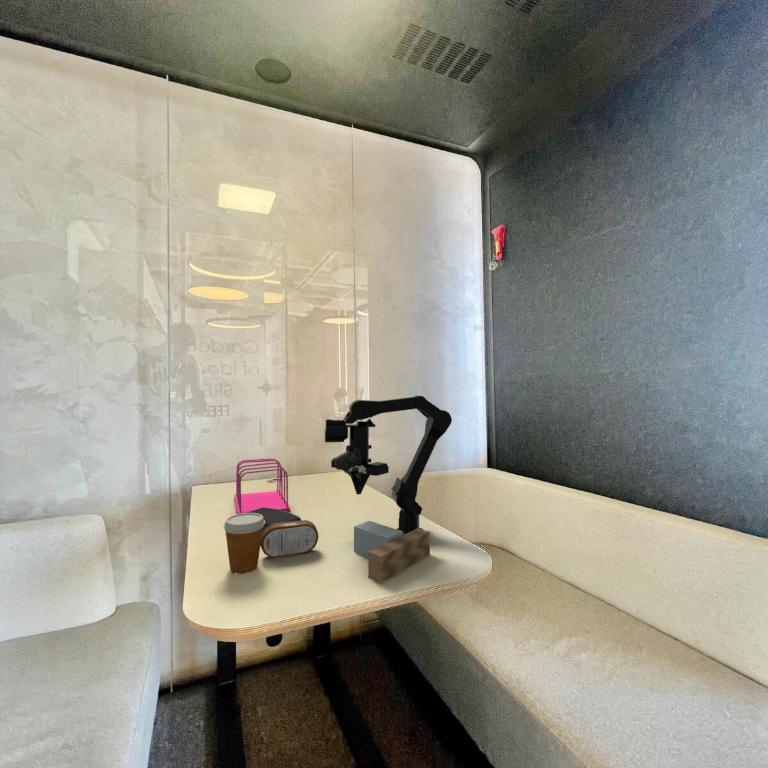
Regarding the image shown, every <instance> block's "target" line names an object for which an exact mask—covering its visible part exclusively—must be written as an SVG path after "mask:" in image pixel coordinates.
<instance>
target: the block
mask: <svg viewBox="0 0 768 768" xmlns="http://www.w3.org/2000/svg"><path fill="white" fill-rule="evenodd" d="M402 535H404V534H403V531H400V530H397V528H393V527H390V526H387V525H384V524H380V523H378V522H374V521H372V520H368V521H365V522H362V523H359V524H356V525H354V526H353V553H355V554H357V555H360V556H363V557H365V558H367V559H368V552H369V551H371V550H373V549H375V548H377V547H379V546H381V545H383V544H385V543H388V542H390V541H392V540H394V539H396V538H398V537H400V536H402Z"/></svg>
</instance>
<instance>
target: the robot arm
mask: <svg viewBox="0 0 768 768" xmlns="http://www.w3.org/2000/svg"><path fill="white" fill-rule="evenodd" d="M348 407H349V408H348V410H349V411H348V412H347V414H346V415H344V418H343V419H330V418H329V419H325V427H324V443H328V444H329V443H344V442H345V441H346V440H348V438H349V444H348V445H346V448H345V452H342V453H340V454H339V455H337V456H336V457H333V458H332V459H331V460H330V464H331V465H330V466H331V468H333V469H336V470H338V471H343V472H344V473H346V475H348V476H349V477H350V478H351V481H352V484H353V488H354V490H355V493H356V495H358V496H359V495H361V494H362V492H363V491H364V488H365V486H366V484H367V482H368V479H370V476H373V477H374V476H375V477H378V476H381V475H385V474H389V469H390V468H389V465H388V463H387V462H380V461H376V462H372V458H370V457H369V453H370V451H369V450H370V449H372V444H370V441H369V440H370V439H369V438H370V434H369V433H370V428H376V424H375V423H374V422H373V421H372V419H371V418H373V417H375V416H378V415H381V414H385V413H386V414H388V413H394V412H401V411H408V410H418V412H419V413H420V414H422V415H423V417H425V418H426V421H425V427H424V434H423V437H422V438H421V440H420V443H419V444H418V448H417V449H416V451H415V454H414V456H413V458H412V460H411V463H410V465H409V466H408V469H407V471H406V473H405V475H404V476H403V477H401V479H400V478H399V477H396V479H395V482H394V484H393V486H392V487H391V490H392V492H391V498H392V499H393V501H394V503H395V504H396V505H397V507H398V508H399V509H400V510H399V512H398V527H397V528H396V529H397V530H400V531H403V535H404V534H406V533H409V532H411V531H413V530H415V529H417V528H419V529H422V530H424V528H422V527H420V516H421V513H422V511H423V507H422V506H421V505H420V504H419V503H418V502H417V501H416V499H417V496H418V489H419V482H420V479H421V478H422V475H423V473H424V470H425V469H426V467H427V464H428V463H429V460H430V458H431V456H432V453H433V451H434V449H435V447H436V444H437V443H438V441H439V440H440V438H441V437H443V435H444V434H445V433H446V432H447V430H448V429H449V427H450V426H451V424H452V421H453V419H452V416H451V414H450V413H449V412H448V410H444V409H440V408H439V407H437V405H435V404H433V403H432V402H431V401H429V400H428V399H426V398H425V396H423V395H414V396H409V397H400V398H393V399H385V400H371V399H370V400H366V399H363V400H362V399H356V400H353V401H352V402H351V403H350V404H349V406H348ZM364 420H365V421H364ZM355 422H356V424H354V423H355Z"/></svg>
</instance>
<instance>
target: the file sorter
mask: <svg viewBox="0 0 768 768" xmlns="http://www.w3.org/2000/svg"><path fill="white" fill-rule="evenodd" d="M248 463H251V464H248ZM243 464H245V465H243ZM267 465H268V466H267ZM269 465H270V466H269ZM254 466H255V467H254ZM256 466H259V467H256ZM241 469H242V470H241ZM259 469H262V470H259ZM240 470H241V471H240ZM251 470H253V471H251ZM244 471H246V472H244ZM274 471H277V472H276V474H277V475H276V483H277V484H276V490H272V491H271V490H269V491H260V492H259V491H258V492H247V493H242V478H243V477H244V476H245V475H247V474H256V473H264V472H274ZM235 472H236V473H235V474H236V479H235V480H236V482H235V484H236V486H235V492H236V493H235V494H234V495H233V500H234V504H235V509H236V514H242V513H247V512H250V511H253V510H256V509H259V508H262V507H266V508H273V509H278V510H283V511H286V512H289V513H291V506H290V505H289V476H288V472H287V470H286V469H285V468H284V467H283V466H282V464H281V462H280V461H279V460H277V459H276V458H256V459H242V460H240V461H239V462H238V463H237V465H236V471H235Z"/></svg>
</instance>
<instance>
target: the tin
mask: <svg viewBox="0 0 768 768" xmlns="http://www.w3.org/2000/svg"><path fill="white" fill-rule="evenodd" d="M318 541H319V531H318V529H317V527H316V525H315V524H314V523H313V522H312V521H310V520H306V519H305V520H304V519H301V521H292V522H282V523H274V524H271V525H269V526H268V527H267V528H265V529H264V531H263V532H262V538H261V545H260V550H262V552H263V554H264V555H265V556H267V557H269V558H272V559H273V558H274V559H278V558H283V557H291V556H298V555H304V554H308V553H309V552H311V551H312V550H314V548H315V547H316V546H317V543H318Z"/></svg>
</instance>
